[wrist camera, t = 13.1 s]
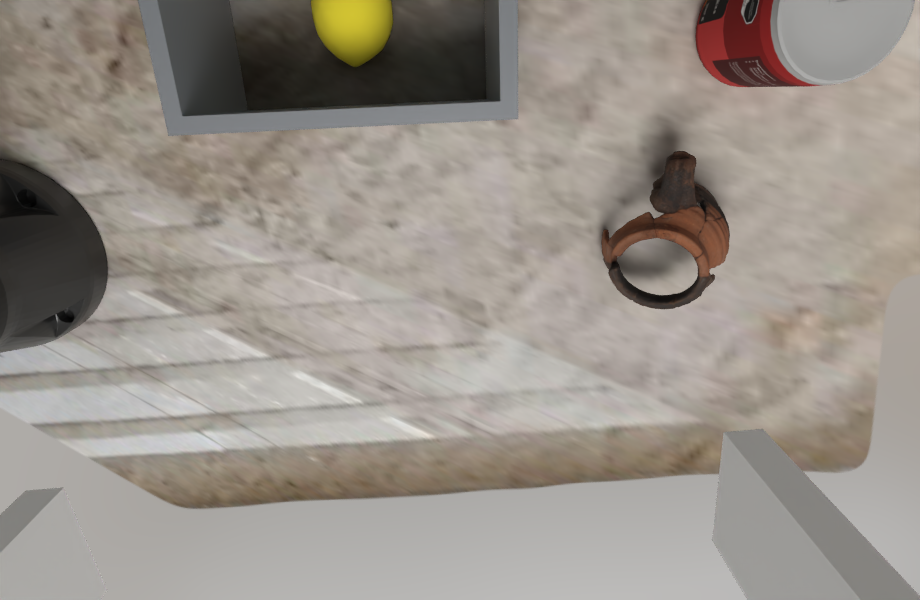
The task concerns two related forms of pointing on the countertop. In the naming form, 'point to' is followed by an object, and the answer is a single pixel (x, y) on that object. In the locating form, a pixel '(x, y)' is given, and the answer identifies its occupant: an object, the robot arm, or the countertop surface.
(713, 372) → the countertop surface
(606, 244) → the broken clay pot
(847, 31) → the canned food
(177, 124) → the tub
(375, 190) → the countertop surface
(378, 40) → the lemon
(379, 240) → the countertop surface
